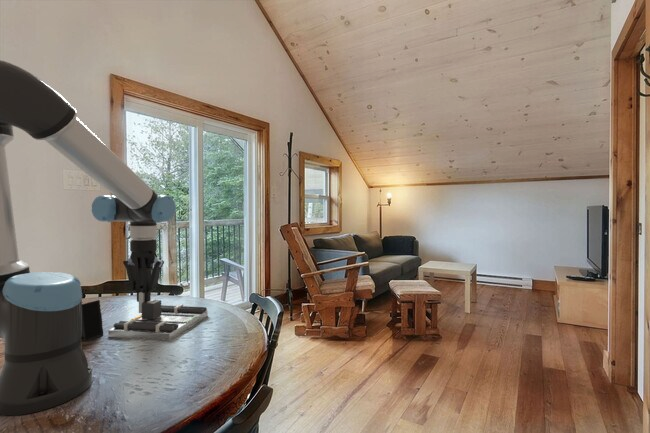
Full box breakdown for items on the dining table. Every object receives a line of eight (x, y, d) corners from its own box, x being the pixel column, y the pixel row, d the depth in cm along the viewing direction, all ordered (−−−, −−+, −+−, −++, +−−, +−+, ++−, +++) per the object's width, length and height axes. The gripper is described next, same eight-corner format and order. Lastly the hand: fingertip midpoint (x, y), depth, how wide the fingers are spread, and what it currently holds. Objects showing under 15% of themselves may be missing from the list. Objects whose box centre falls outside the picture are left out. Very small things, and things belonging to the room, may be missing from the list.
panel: (169, 340, 92) (169, 332, 92) (108, 337, 94) (108, 329, 94) (207, 316, 114) (207, 309, 114) (157, 313, 116) (157, 307, 116)
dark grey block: (153, 319, 103) (153, 302, 103) (141, 318, 104) (141, 301, 104) (161, 315, 107) (161, 299, 107) (150, 314, 108) (150, 298, 108)
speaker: (108, 335, 95) (104, 299, 96) (84, 342, 91) (80, 304, 91) (99, 331, 100) (96, 297, 100) (76, 338, 96) (73, 302, 96)
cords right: (202, 314, 110) (202, 308, 110) (151, 311, 112) (151, 306, 112) (208, 310, 114) (208, 305, 114) (158, 308, 116) (158, 303, 116)
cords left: (172, 332, 93) (172, 326, 93) (112, 329, 95) (112, 322, 95) (180, 327, 97) (180, 321, 97) (122, 324, 99) (122, 318, 99)
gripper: (169, 238, 109) (169, 309, 109) (133, 237, 110) (133, 307, 110) (155, 240, 101) (155, 316, 101) (116, 239, 103) (116, 314, 103)
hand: (143, 311), depth 106 cm, fingers closed
